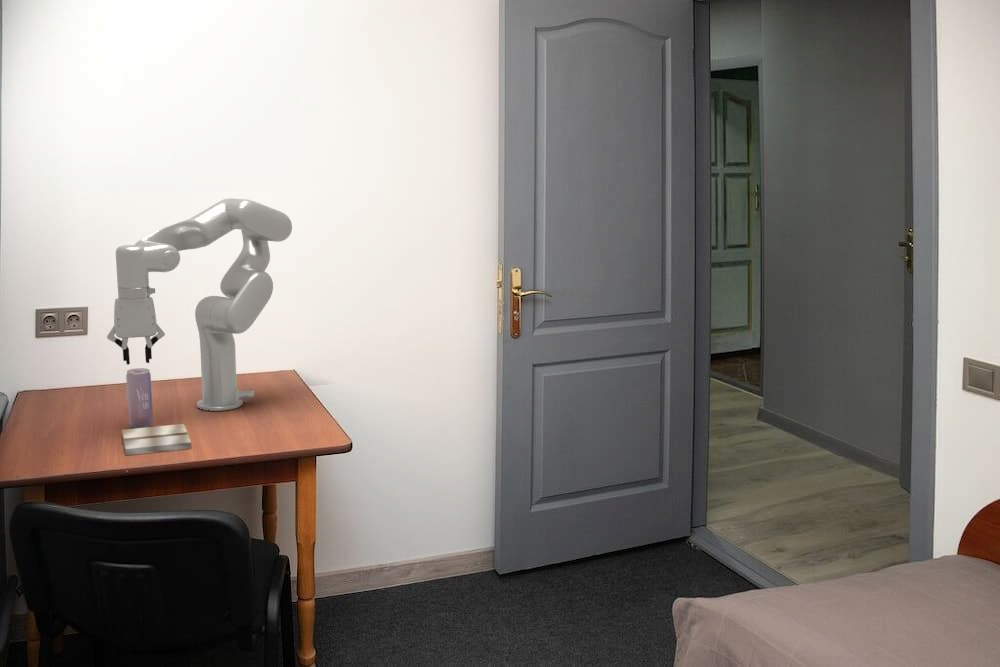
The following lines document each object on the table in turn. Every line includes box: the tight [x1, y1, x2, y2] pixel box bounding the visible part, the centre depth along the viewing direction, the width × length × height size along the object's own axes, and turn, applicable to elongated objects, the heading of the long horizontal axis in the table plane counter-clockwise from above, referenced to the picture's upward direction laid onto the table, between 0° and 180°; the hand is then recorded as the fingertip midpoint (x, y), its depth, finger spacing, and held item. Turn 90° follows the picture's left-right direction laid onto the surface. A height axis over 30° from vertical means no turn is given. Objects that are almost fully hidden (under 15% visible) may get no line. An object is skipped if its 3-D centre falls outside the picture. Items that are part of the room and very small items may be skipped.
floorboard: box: [123, 433, 192, 456], centre depth 231 cm, size 15×8×2 cm, turn 114°
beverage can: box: [126, 367, 154, 429], centre depth 247 cm, size 6×6×15 cm
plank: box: [121, 423, 188, 443], centre depth 239 cm, size 15×8×2 cm, turn 114°
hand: (137, 362), depth 245 cm, fingers open, 4 cm apart
